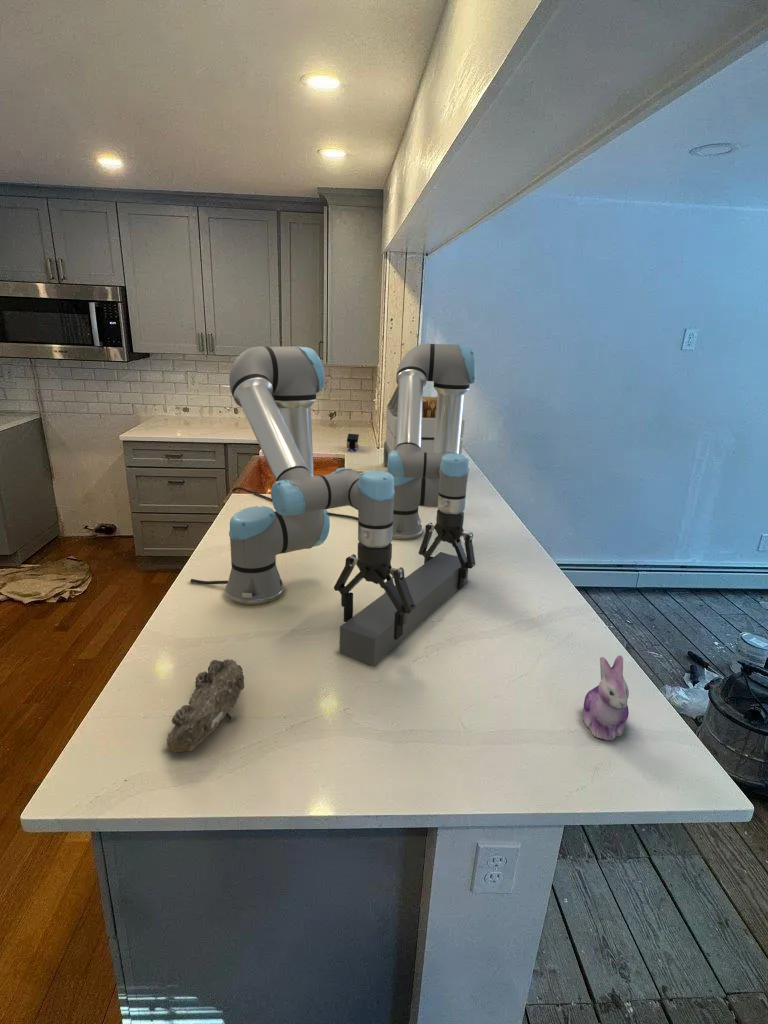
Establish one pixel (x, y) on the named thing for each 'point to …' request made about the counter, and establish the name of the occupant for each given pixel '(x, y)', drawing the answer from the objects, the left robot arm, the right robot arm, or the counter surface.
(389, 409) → the transformer
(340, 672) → the counter surface
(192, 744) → the fossil
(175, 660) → the counter surface
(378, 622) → the wide beam
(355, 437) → the figurine character
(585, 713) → the figurine
